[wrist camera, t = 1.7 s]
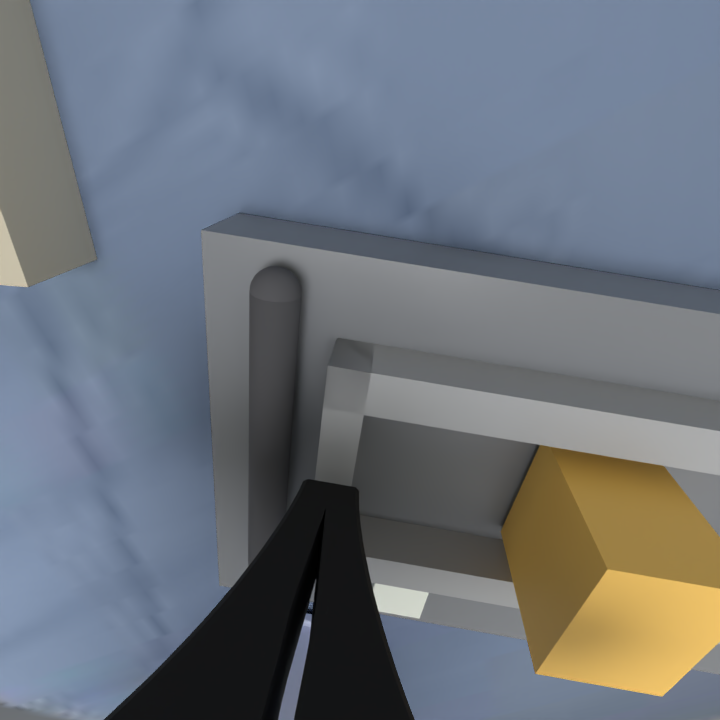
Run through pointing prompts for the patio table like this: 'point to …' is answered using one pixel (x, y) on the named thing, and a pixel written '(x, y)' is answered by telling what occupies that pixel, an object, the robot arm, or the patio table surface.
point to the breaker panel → (455, 397)
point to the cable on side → (271, 398)
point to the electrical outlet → (34, 163)
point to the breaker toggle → (612, 571)
